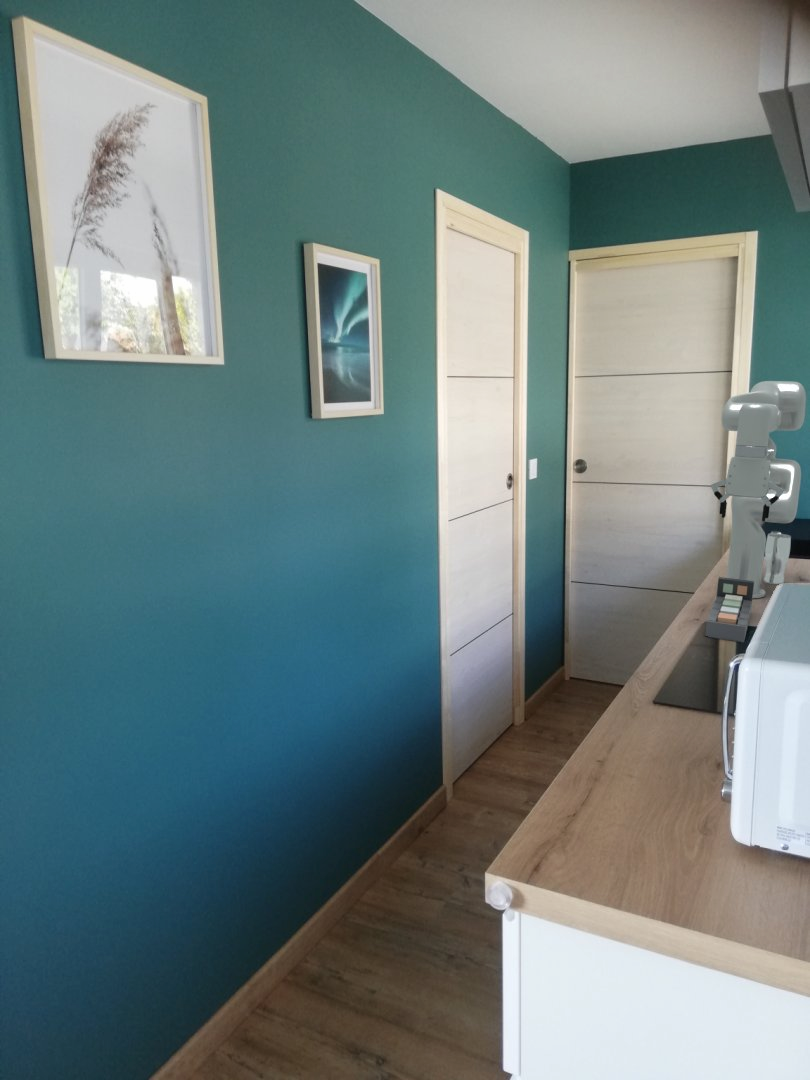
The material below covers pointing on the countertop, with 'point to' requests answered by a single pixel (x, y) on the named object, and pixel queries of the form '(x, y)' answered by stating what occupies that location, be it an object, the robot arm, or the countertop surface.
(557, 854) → the countertop surface
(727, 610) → the key grey
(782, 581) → the beer glass
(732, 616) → the key terracotta
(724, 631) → the keypad
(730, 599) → the key cream
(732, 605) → the key sage
